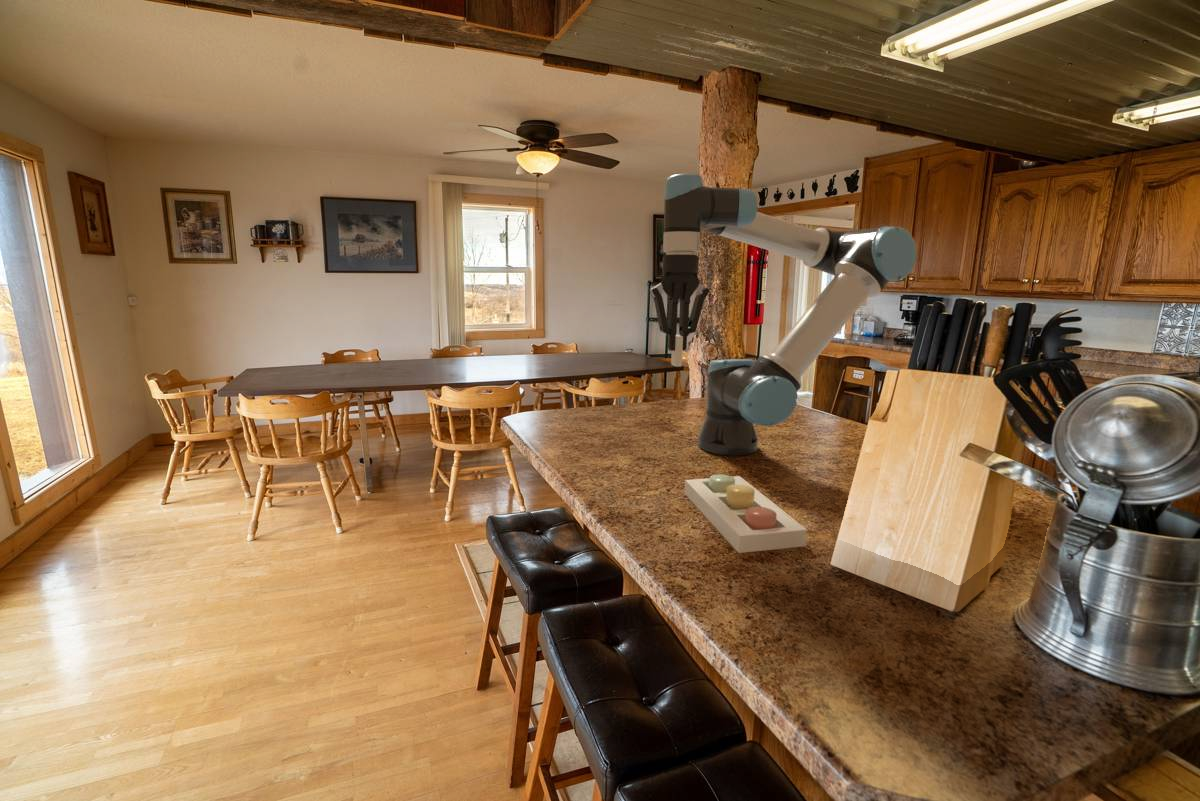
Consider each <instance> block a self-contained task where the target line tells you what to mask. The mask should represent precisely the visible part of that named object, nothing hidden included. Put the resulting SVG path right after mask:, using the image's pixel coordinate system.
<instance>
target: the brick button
mask: <svg viewBox="0 0 1200 801" xmlns="http://www.w3.org/2000/svg"><path fill="white" fill-rule="evenodd" d="M776 516H777V514H776V512H775V511H773V510H771V509H768V508H765V507H750V508H748V509H747V510H746V519H745V524H746V525H748V526H749V527H750V528H751V529H752V530H762V529H772V528H775V527H776Z"/></svg>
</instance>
